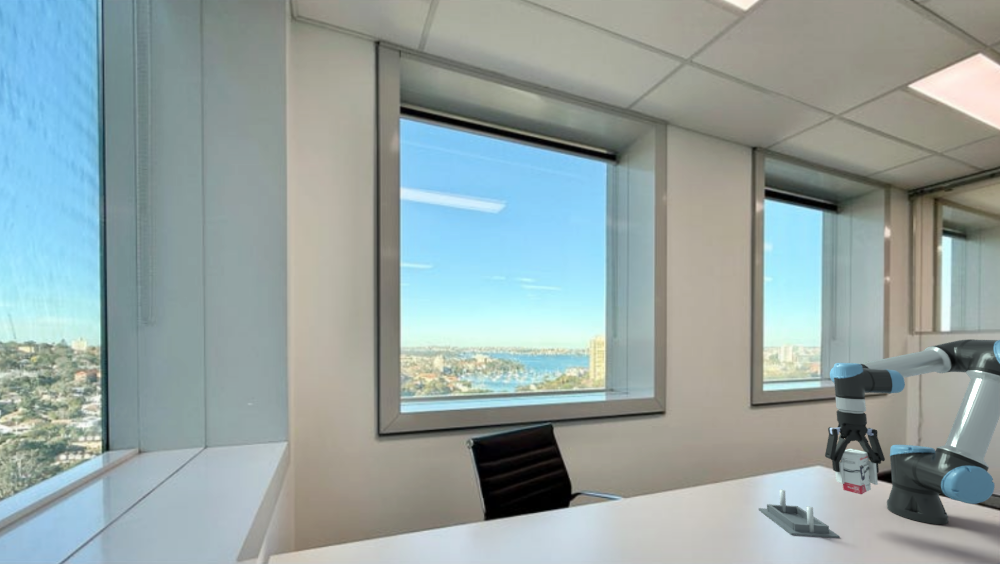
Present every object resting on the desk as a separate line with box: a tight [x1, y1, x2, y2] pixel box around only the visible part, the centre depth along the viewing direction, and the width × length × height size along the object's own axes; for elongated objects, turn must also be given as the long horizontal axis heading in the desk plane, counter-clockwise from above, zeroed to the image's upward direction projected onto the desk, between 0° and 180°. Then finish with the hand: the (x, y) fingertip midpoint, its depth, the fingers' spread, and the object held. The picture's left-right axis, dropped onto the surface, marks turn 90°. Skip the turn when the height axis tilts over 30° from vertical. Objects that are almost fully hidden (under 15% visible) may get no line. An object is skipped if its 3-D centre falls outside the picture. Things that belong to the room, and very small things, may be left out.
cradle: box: [758, 488, 841, 539], centre depth 138 cm, size 14×18×8 cm
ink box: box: [840, 448, 872, 495], centre depth 137 cm, size 8×5×12 cm, turn 123°
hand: (856, 482), depth 137 cm, fingers closed on ink box, 9 cm apart
